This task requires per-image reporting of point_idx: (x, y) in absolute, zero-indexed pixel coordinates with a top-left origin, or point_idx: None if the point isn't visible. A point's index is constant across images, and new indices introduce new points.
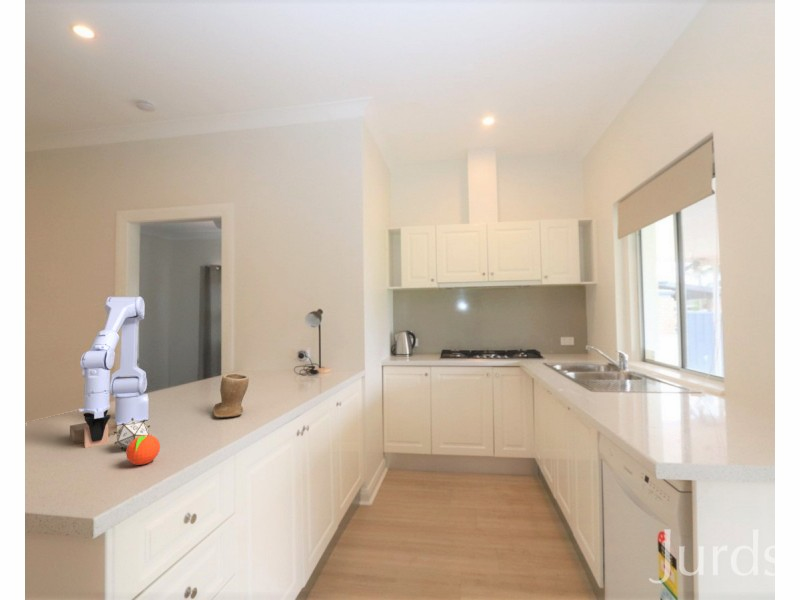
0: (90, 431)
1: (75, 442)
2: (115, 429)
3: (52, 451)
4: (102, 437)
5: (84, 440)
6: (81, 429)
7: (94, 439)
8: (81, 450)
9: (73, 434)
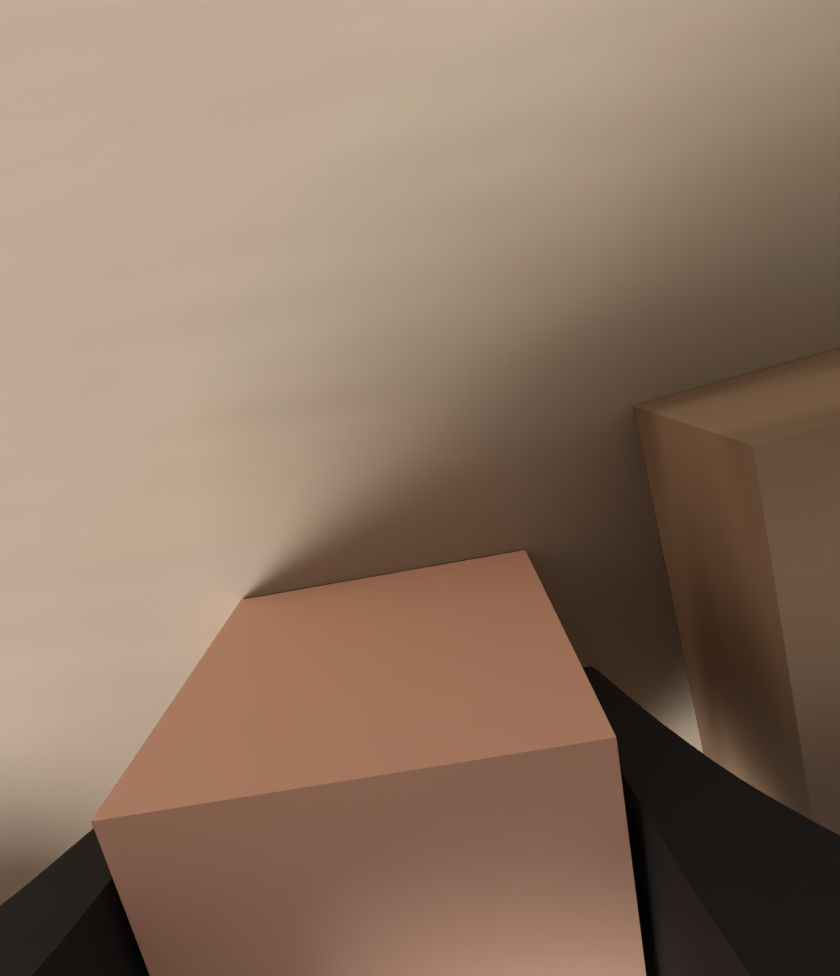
0: (24, 887)
1: (641, 426)
2: None
3: (331, 151)
4: None
5: (449, 591)
6: (786, 580)
7: None
8: (132, 570)
9: (803, 397)
